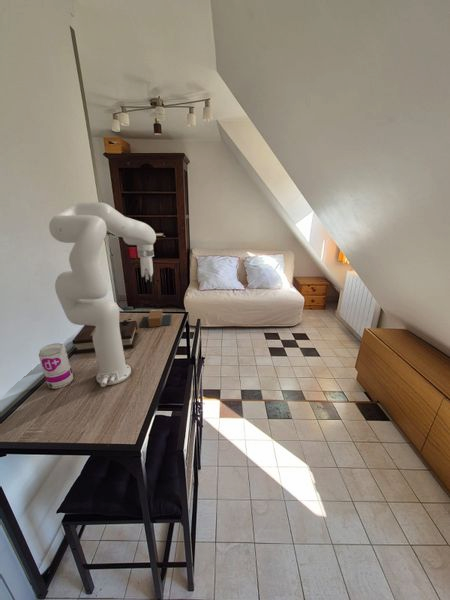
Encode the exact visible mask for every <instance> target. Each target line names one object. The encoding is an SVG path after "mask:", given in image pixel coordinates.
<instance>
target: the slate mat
mask: <svg viewBox="0 0 450 600" xmlns="http://www.w3.org/2000/svg"><path fill="white" fill-rule="evenodd" d="M148 317H149V316H143V318H142V321H141V324H140V326H139V327H140V328H139V329H141V328H150V327H149V322H148ZM162 317H163V318H162V323H161V326H160V327H167V326H171V314H162Z"/></svg>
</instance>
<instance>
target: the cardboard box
mask: <svg viewBox="0 0 450 600" xmlns="http://www.w3.org/2000/svg"><path fill="white" fill-rule="evenodd" d="M162 315H163V310H162V309H151V310H149V314H148V316H147V317H148V322H149V327H148V328H153V327H154V328H155V327H162V326H161V323H162V318H163V317H162Z"/></svg>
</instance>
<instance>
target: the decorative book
mask: <svg viewBox="0 0 450 600" xmlns="http://www.w3.org/2000/svg"><path fill="white" fill-rule="evenodd" d="M137 322H138V321H137V320H132V318H128V319H124V320H123V321H119V327H120V334H121V340H122V345H123V350H128V349H134V347H135V343H136V340H137V337H138V333H141V331H142V329H141V328H139V327H138V323H137ZM138 328H139V329H138ZM95 331H96V326H91V325H83V326H82V327H81V329H80V330H79V331H78V332H77V334H76V335H75V336H74V338H73V339H72V341H71V343H72V345H74V346H73V348H75V350H74V354H75V355H78V354H90V353H95V348H94V344H93V334H94V332H95Z"/></svg>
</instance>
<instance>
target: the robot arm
mask: <svg viewBox="0 0 450 600" xmlns="http://www.w3.org/2000/svg"><path fill="white" fill-rule="evenodd" d="M48 227H49V228H48V230H49V233H50V235H51V237H53V239H55V240H56V241H58V242H60V243H66V244H71V243H73V246H72V248H71V250H70V252H69V256H68V262H69V266H70V269H71V270H69V271H68V270H67V271H64V272H61V273H59V275H58V276H57V277H56V279H55V283H54V284H55V285H54V289H55V290H54V291H55V294H56V296H57V299H58V301H59V303H60V305H61V308H62V310H63V313H64V314H65V316H66V318H67V320H68V321H69V322H70V323H71V324H73V325H77V326H84V325H91V326H96V331H95V332H94V334H93V344H94V348H95V352H94V353H95V357H96V361H97V367H98V373H97V374H96V376H95V378H96V382H97V383H98V384H100V387H102V388H105V387H106V386H113V385H116V384H119V383H121V382H123V381H125V380H127V379H128V378H129V377H130V375H131V374H132V369H131V368H132V367H131V366H130V365H128V364H126V359H125V351H124V349H123V345H122V340H121V334H120V327H119V322H120V312H121V311H120V307H119V305H118V303H116V302H115V301H114V300H110V299H105V297H106V296H107V295H108V283H107V281H106V276H105V274H104V271H103V267H102V263H101V261H100V251H101V247H102V245H103V242H104V240H105V238H106V235H107V232H108V233H109V234H112V235H114V236H115V237H119V238H122V240H123V241H124V243H125V244H126V245H129V246H136V249H137V257H138V258H140V259H139V260H140V261H139V263H140V275H141V276H140V277H141V278H145V279H144V280H145V287H146V288H145V289H146V290H153V289H154V283H153V275H154V267H153V266H154V263H153V257H155V252H154V244H155V243H156V240H157V235H156V232H155V230H154V229H153V228H152V227H151V226H150V225H149V224H147V223H146V222H143V221H140V220H137V219H133V218H131V217H128V216H125V215H124V214H122V213H121V212H119V211H118V210H117V209H115V208H114V207H112V206H111V205H110V204H108V203H106V202H101V201H100V202H99V201H98V202H97V201H96V202H95V201H94V202H93V201H92V202H89V201H87V202H78V203H77V202H76V203H75V204H72V205H70V206H69V207H67V208H66V209H64V210H62V211H61V212H59V213H57V214H56V215H53V217H52V218H51V219H50V221H49V224H48ZM103 298H104V299H103Z"/></svg>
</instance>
